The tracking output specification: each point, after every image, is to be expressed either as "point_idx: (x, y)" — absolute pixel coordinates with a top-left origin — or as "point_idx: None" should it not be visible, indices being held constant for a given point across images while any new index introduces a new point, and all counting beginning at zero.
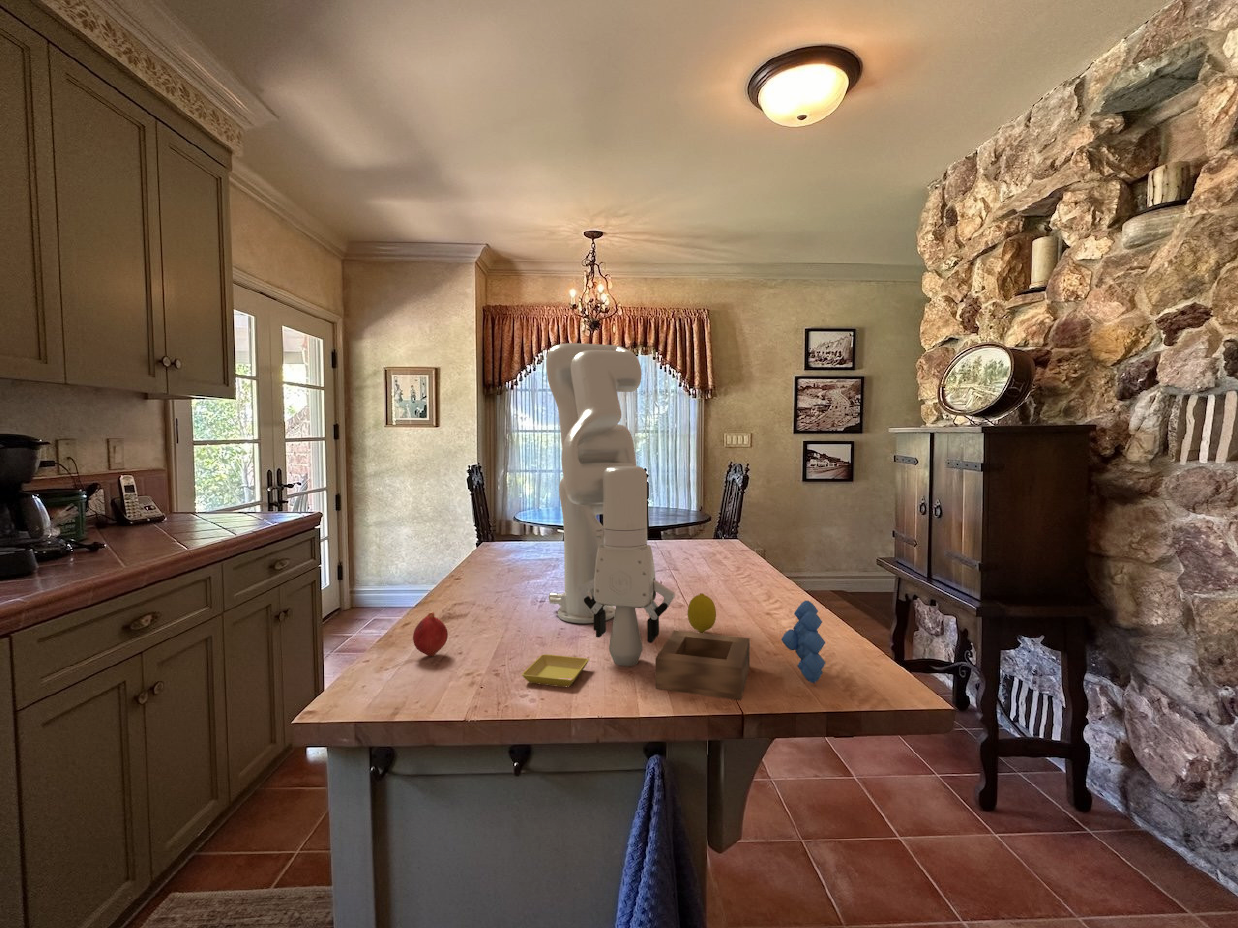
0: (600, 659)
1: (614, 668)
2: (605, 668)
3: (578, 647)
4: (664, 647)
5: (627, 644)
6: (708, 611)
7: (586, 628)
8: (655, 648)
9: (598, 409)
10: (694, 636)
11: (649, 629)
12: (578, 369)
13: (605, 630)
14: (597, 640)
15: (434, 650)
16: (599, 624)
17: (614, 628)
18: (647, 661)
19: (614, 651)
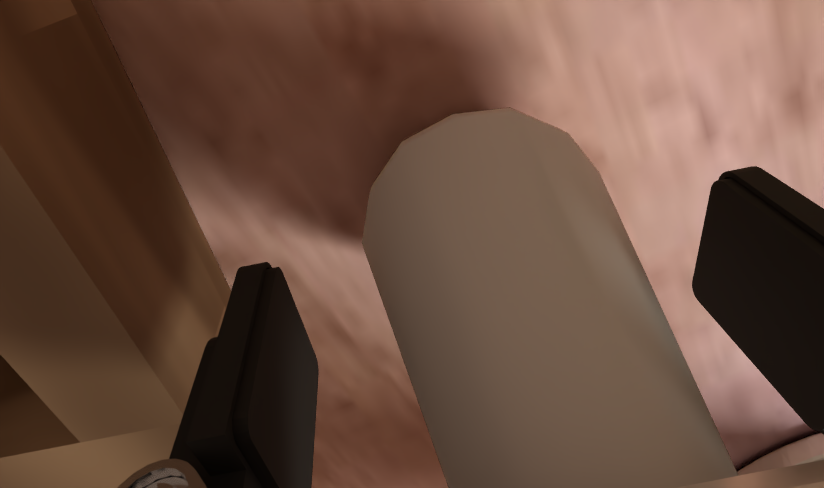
0: (625, 142)
1: (491, 61)
2: (548, 30)
3: None
4: (15, 199)
5: (437, 182)
6: None
7: (788, 408)
8: (398, 381)
9: None
10: (31, 467)
11: (232, 345)
12: None
13: (698, 294)
14: (707, 334)
15: None
16: (803, 239)
17: (617, 255)
18: (353, 244)
19: (531, 121)
